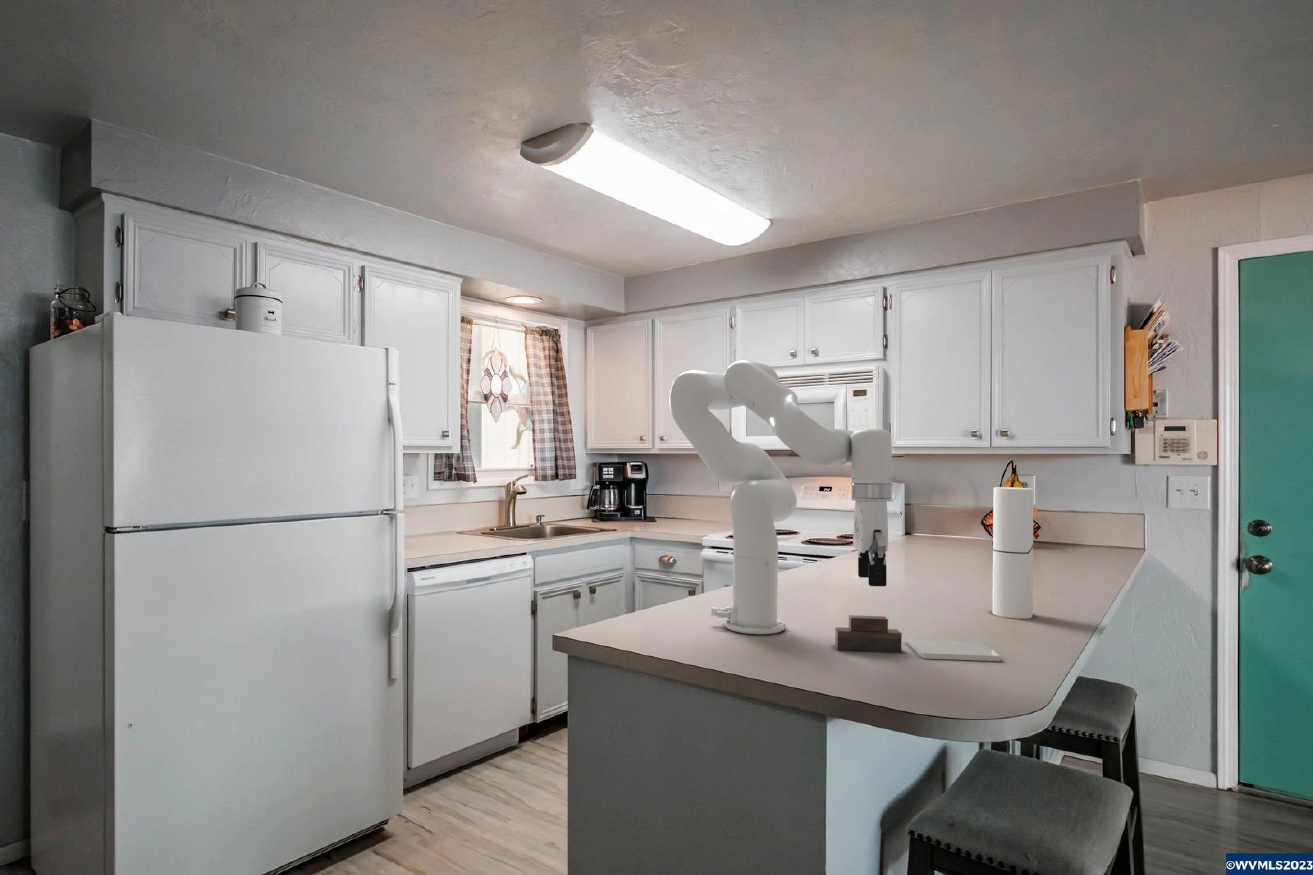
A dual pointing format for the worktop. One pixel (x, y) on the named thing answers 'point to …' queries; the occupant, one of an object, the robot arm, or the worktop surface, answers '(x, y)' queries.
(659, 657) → the worktop surface
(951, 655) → the tile
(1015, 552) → the container
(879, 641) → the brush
